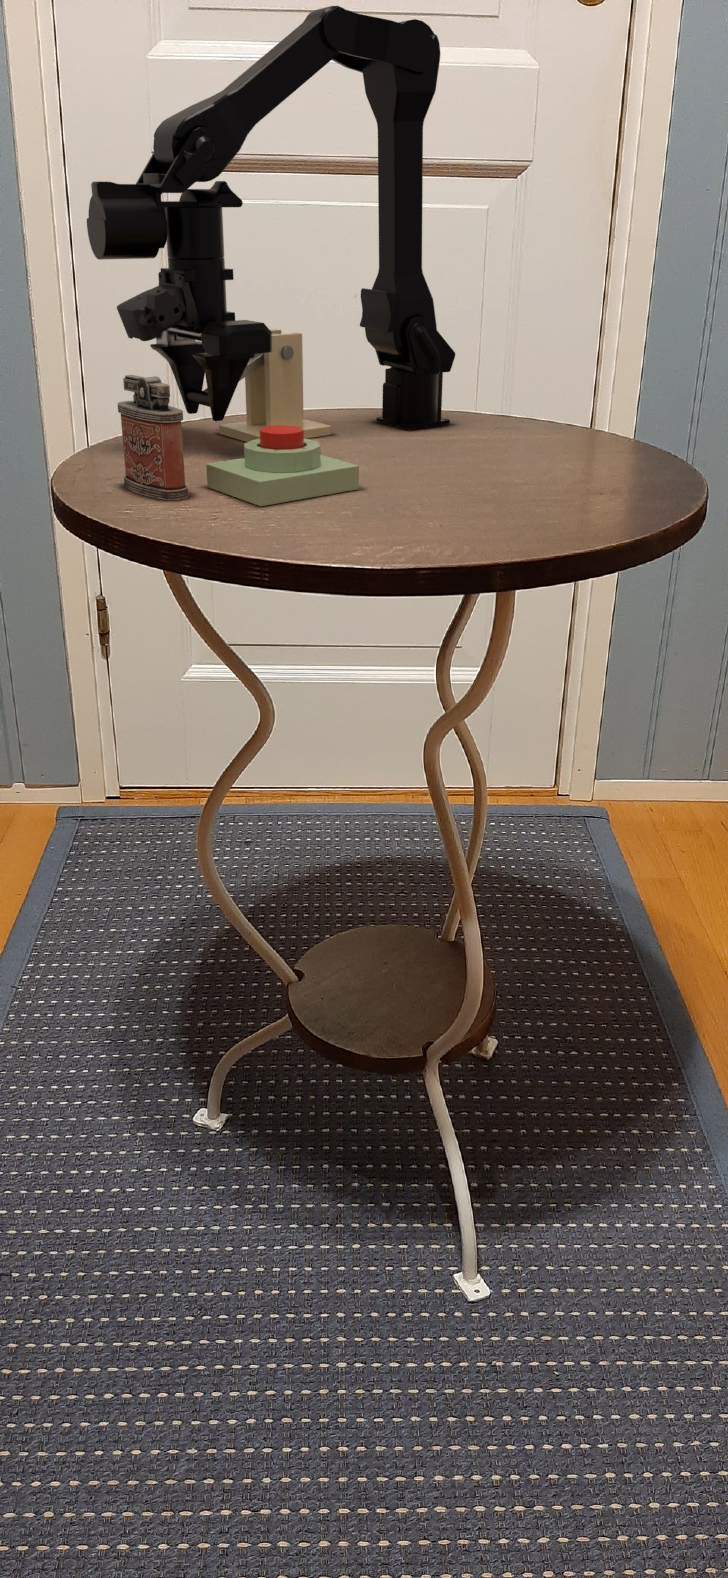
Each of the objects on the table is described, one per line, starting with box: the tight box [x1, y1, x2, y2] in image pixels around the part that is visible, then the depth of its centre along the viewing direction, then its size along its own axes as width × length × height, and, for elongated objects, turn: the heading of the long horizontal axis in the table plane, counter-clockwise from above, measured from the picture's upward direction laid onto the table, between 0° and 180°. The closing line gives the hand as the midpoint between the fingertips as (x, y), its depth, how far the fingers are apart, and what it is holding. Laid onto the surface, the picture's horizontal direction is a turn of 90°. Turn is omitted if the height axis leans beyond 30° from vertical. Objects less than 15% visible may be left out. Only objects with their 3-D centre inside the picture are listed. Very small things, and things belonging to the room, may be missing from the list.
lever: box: [186, 333, 278, 408], centre depth 125 cm, size 12×5×2 cm, turn 128°
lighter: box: [117, 374, 189, 501], centre depth 103 cm, size 8×3×10 cm, turn 43°
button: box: [260, 425, 304, 450], centre depth 105 cm, size 4×4×2 cm
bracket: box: [218, 328, 332, 443], centre depth 128 cm, size 10×8×11 cm
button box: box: [205, 438, 360, 507], centre depth 106 cm, size 11×9×4 cm
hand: (204, 416), depth 124 cm, fingers closed on lever, 5 cm apart
